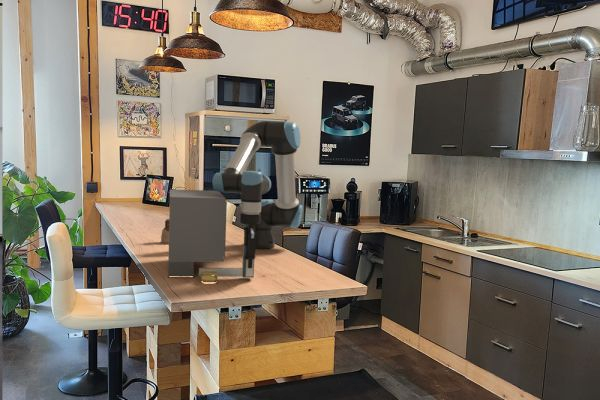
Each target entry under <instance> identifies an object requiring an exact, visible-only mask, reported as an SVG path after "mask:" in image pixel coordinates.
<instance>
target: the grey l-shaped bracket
mask: <svg viewBox="0 0 600 400" xmlns="http://www.w3.org/2000/svg"><path fill="white" fill-rule="evenodd" d="M245 258H247V244H245V243H244V242H243V245H242V267H198V277H199V278H201V273H205V272H214V273H217V274H218V275H217V278H218V277H222V278H223V277H225V278H226V277H235V278H237V277H242V278H249V279H250V278H251V279H253V278H255V277H254V275H255V264H254V265H253V276H251V277H246V260H245Z"/></svg>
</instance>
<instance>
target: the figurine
mask: <svg viewBox="0 0 600 400" xmlns="http://www.w3.org/2000/svg"><path fill="white" fill-rule="evenodd" d="M164 226H165V227H164V228H163V229H162V230H161V236H160V238H161V239H160V243H161V244H162V243H163V245H169V218H167V219H165V221H164Z"/></svg>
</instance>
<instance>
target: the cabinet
mask: <svg viewBox="0 0 600 400" xmlns="http://www.w3.org/2000/svg"><path fill="white" fill-rule="evenodd" d="M226 199H227V198H226V197H225V196H224V195H223V194H222V192H219V191H215V190H204V189H197V190H196V189H169V213H168V214H169V218H168V219H169V244H168V268H167V269H168V271H167V272H168V274H167V275H168V276H193V277H194V264H195V262H196V263H200V262H202V263H204V262H209V263H210V262H224V258H225V257H226V242H227V240H226V239H227V238H226V237H227V235H226V234H227V213H228V211H227V210H228V209H227V206H228V201H227V200H226Z"/></svg>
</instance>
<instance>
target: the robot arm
mask: <svg viewBox="0 0 600 400" xmlns="http://www.w3.org/2000/svg"><path fill="white" fill-rule="evenodd" d="M300 146H301V131H300V128H299V126H298V123H296V122H293V121H291V122H290V121H279V120H278V121H276V120H275V121H273V120H269V121H268V120H261V121H257V122H256V123H253V124H251V125H250V126H249V127H247V128H246V129H245V130H244V131H243V132H242V134H241V136H240V139H239V144H238V146H237V148H236V149H235V151H234V153H233V154H232V157H231V159H230V160H229V161H228V163H227V165H226V166H225V169H224V170H223V172H216V173H214V174H213V176H212V177H213V178H212V188H213V191H219V192H220V193H229V194H230V193H233V194H240V201H241V202H240V203H239V205H238V206H239V207H240V212H241V213H240V214H239V215H240V216H239V217H240V219H239V222H240V224H243V225H245V226H244V227H243V232H244V233H243V243H245V244H247V258H245V260H246V277H251V276H253V265H254V266H255V259H256V250H258V249H259V250H261V249H262V250H264V249H265V250H267V249H273V248H274V247H276V246H275V245H276V242H275V238H274V235H273V234H274V233H273V231H272V230H273V227H278V228H279V227H280V228H288V229H291V228H292V229H297V228H299V227H300V225H301V223H302V218H303V212H304V211H303V210H304V206H303V205H302V204H300V200H299V199H298V198H297V195H296V176H295V175H296V174H295V172H296V171H295V153H297V150H298V149H299V148H300ZM263 147H264V148H270V149H271V153H272V155H274V156H275V159H274V161H275V170H276V172H275V174H276V188H277V199H275V201H274V199H270V198H269V199H262V195H265V194H267V193H268V192H269V191H270V190H271V188H272V181H271V179H270V177H268V176H267V175H264V174H263V172H261V171H256V170H247V168H248V167H249V164H250V162H251V160H252V159H253V157H254V156H255V153H256V152H257V151H258V150H260V148H263Z"/></svg>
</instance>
